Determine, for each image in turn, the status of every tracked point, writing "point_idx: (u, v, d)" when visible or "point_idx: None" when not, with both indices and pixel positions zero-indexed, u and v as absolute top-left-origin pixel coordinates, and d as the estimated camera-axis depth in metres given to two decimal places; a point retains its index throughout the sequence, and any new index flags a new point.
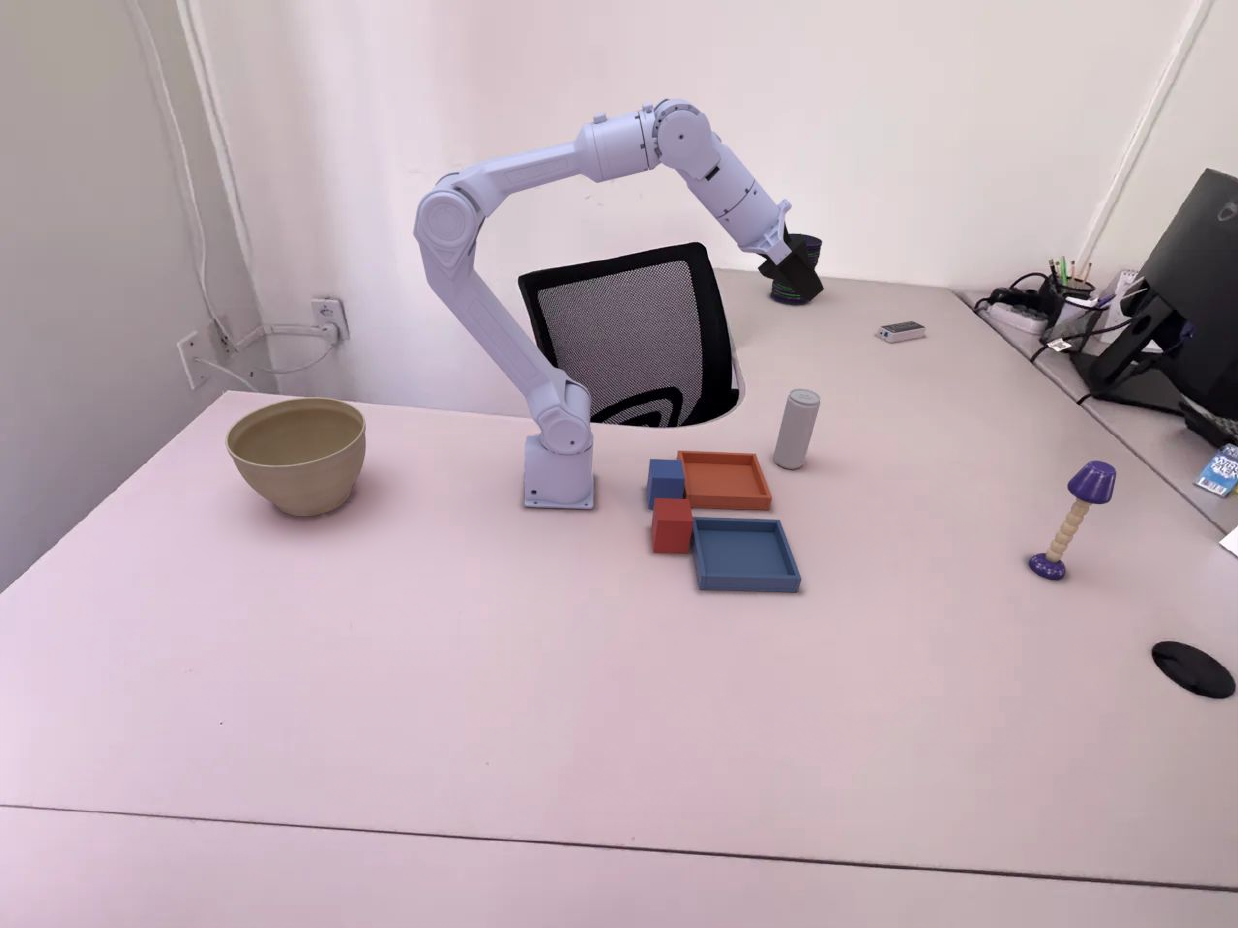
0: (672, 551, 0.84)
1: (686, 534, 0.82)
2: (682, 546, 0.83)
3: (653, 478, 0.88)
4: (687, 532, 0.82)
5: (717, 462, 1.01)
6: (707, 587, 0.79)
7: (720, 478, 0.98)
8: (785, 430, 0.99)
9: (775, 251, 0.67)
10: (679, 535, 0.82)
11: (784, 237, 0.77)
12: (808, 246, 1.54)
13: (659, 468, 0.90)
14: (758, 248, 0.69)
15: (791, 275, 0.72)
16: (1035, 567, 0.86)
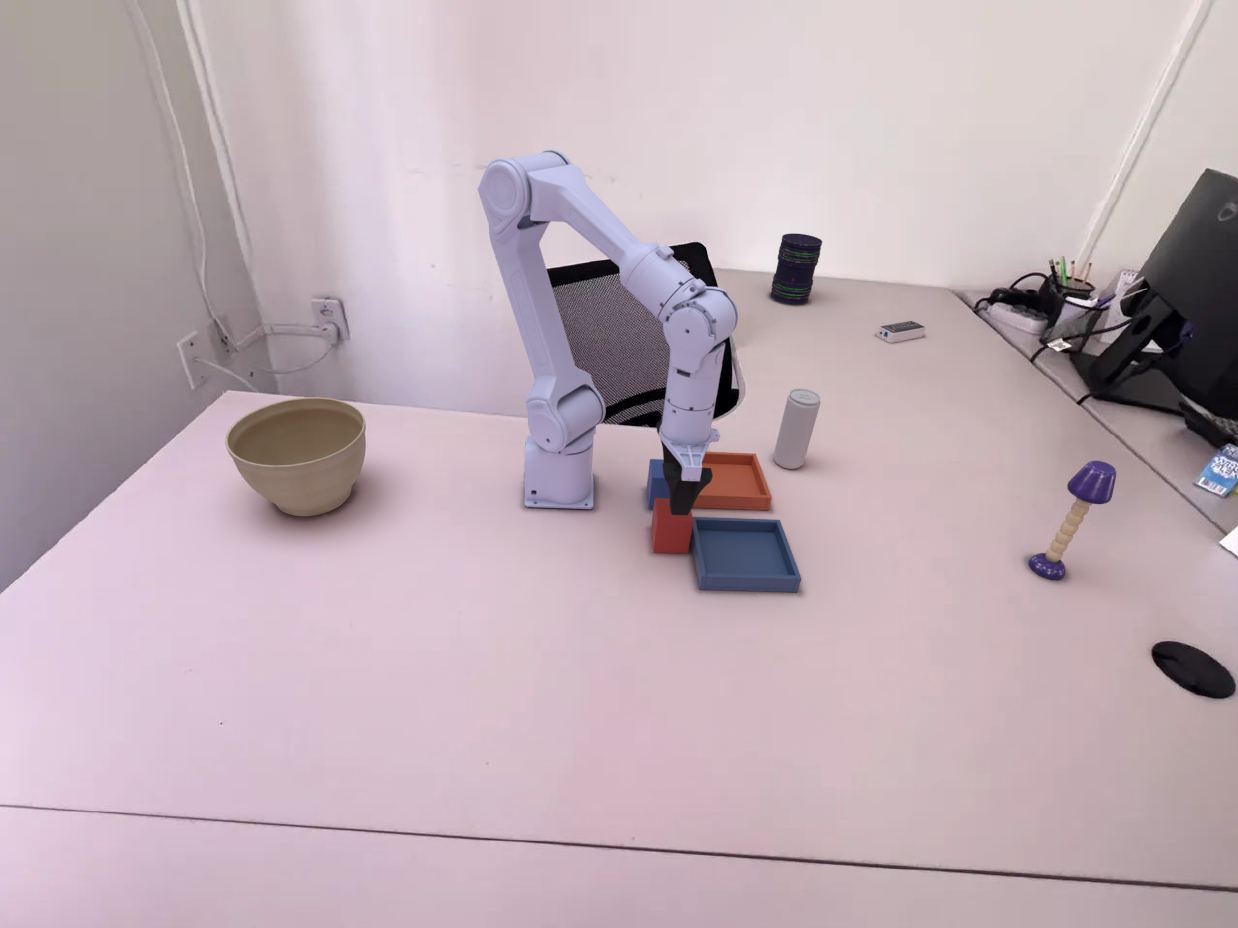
0: (672, 551, 0.84)
1: (686, 534, 0.82)
2: (682, 546, 0.83)
3: (653, 478, 0.88)
4: (687, 532, 0.82)
5: (717, 462, 1.01)
6: (707, 587, 0.79)
7: (720, 478, 0.98)
8: (785, 430, 0.99)
9: (690, 471, 0.71)
10: (679, 535, 0.82)
11: None
12: (808, 246, 1.54)
13: (659, 468, 0.90)
14: (678, 454, 0.72)
15: (678, 488, 0.76)
16: (1035, 567, 0.86)
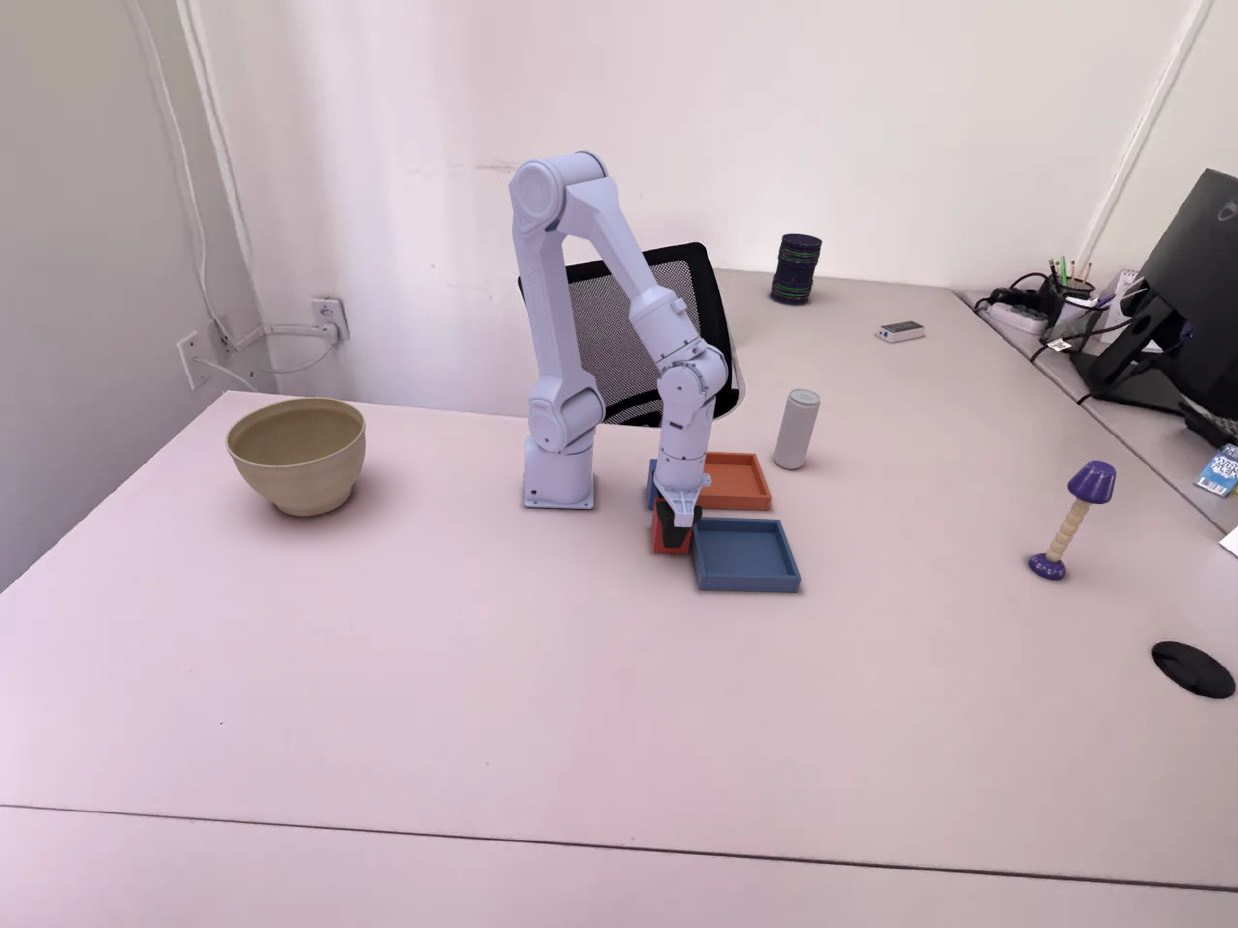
0: (672, 551, 0.84)
1: None
2: (682, 546, 0.84)
3: None
4: None
5: (717, 462, 1.01)
6: (707, 587, 0.79)
7: (720, 478, 0.98)
8: (785, 430, 0.99)
9: (683, 518, 0.74)
10: None
11: None
12: (808, 246, 1.54)
13: None
14: (671, 500, 0.76)
15: (671, 524, 0.80)
16: (1035, 567, 0.86)
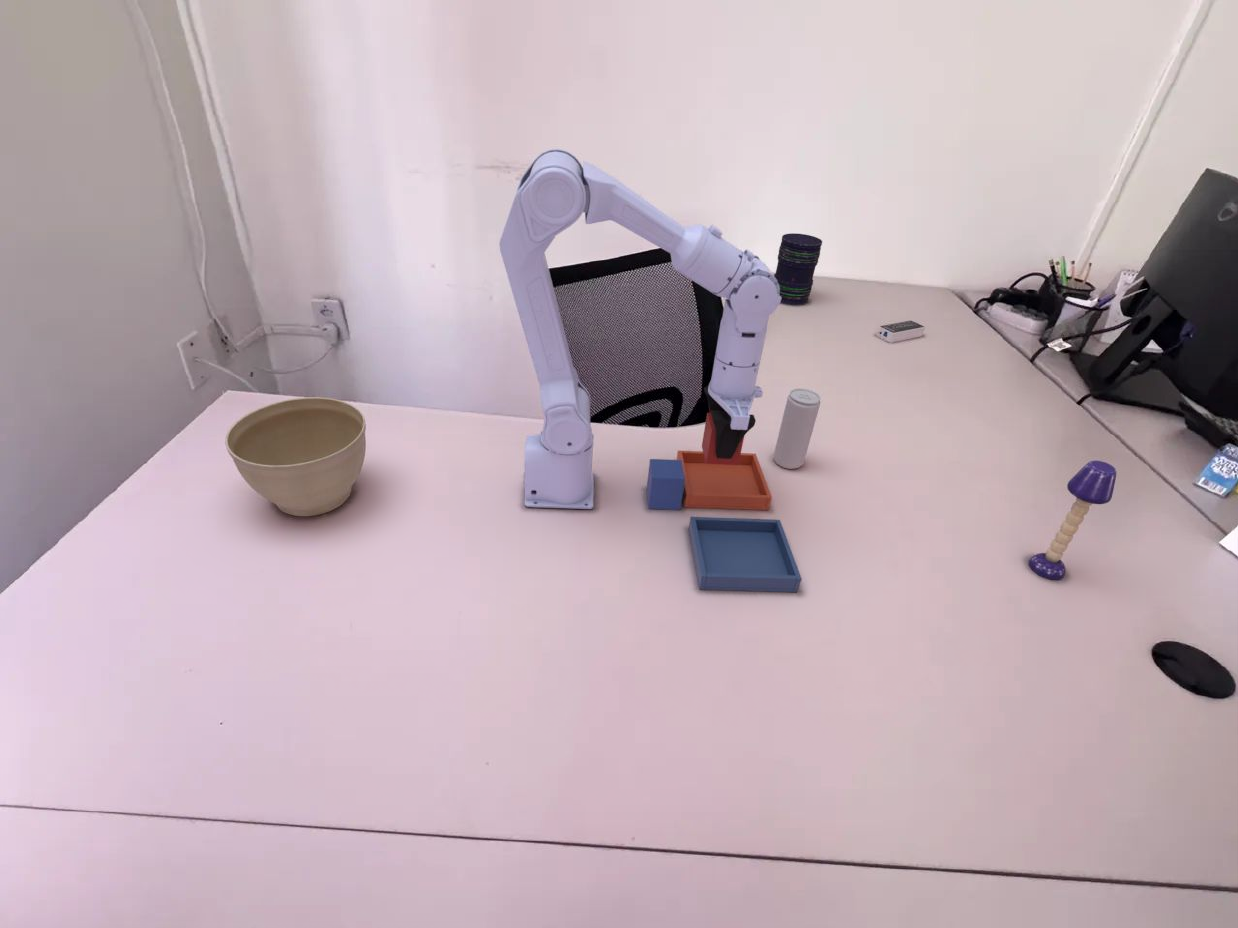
0: (724, 462, 0.89)
1: None
2: (733, 457, 0.89)
3: (653, 478, 0.88)
4: None
5: None
6: (707, 587, 0.79)
7: (720, 478, 0.98)
8: (785, 430, 0.99)
9: (739, 420, 0.79)
10: None
11: None
12: (808, 246, 1.54)
13: (659, 468, 0.90)
14: (727, 406, 0.81)
15: (724, 433, 0.85)
16: (1035, 567, 0.86)
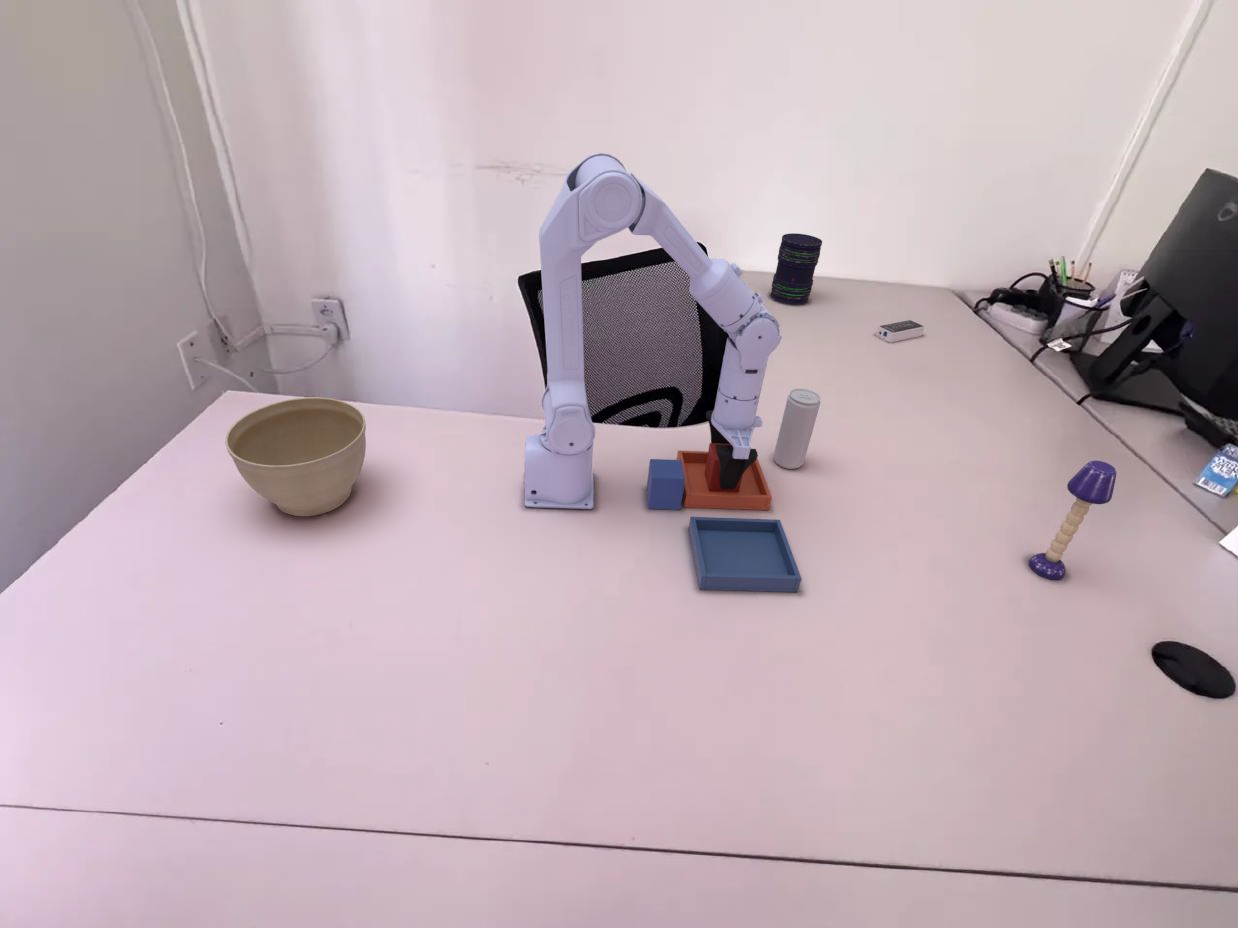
0: (725, 490, 0.95)
1: None
2: None
3: (653, 478, 0.88)
4: None
5: None
6: (707, 587, 0.79)
7: None
8: (785, 430, 0.99)
9: (741, 450, 0.85)
10: None
11: None
12: (808, 246, 1.54)
13: (659, 468, 0.90)
14: (730, 436, 0.87)
15: (728, 466, 0.90)
16: (1035, 567, 0.86)
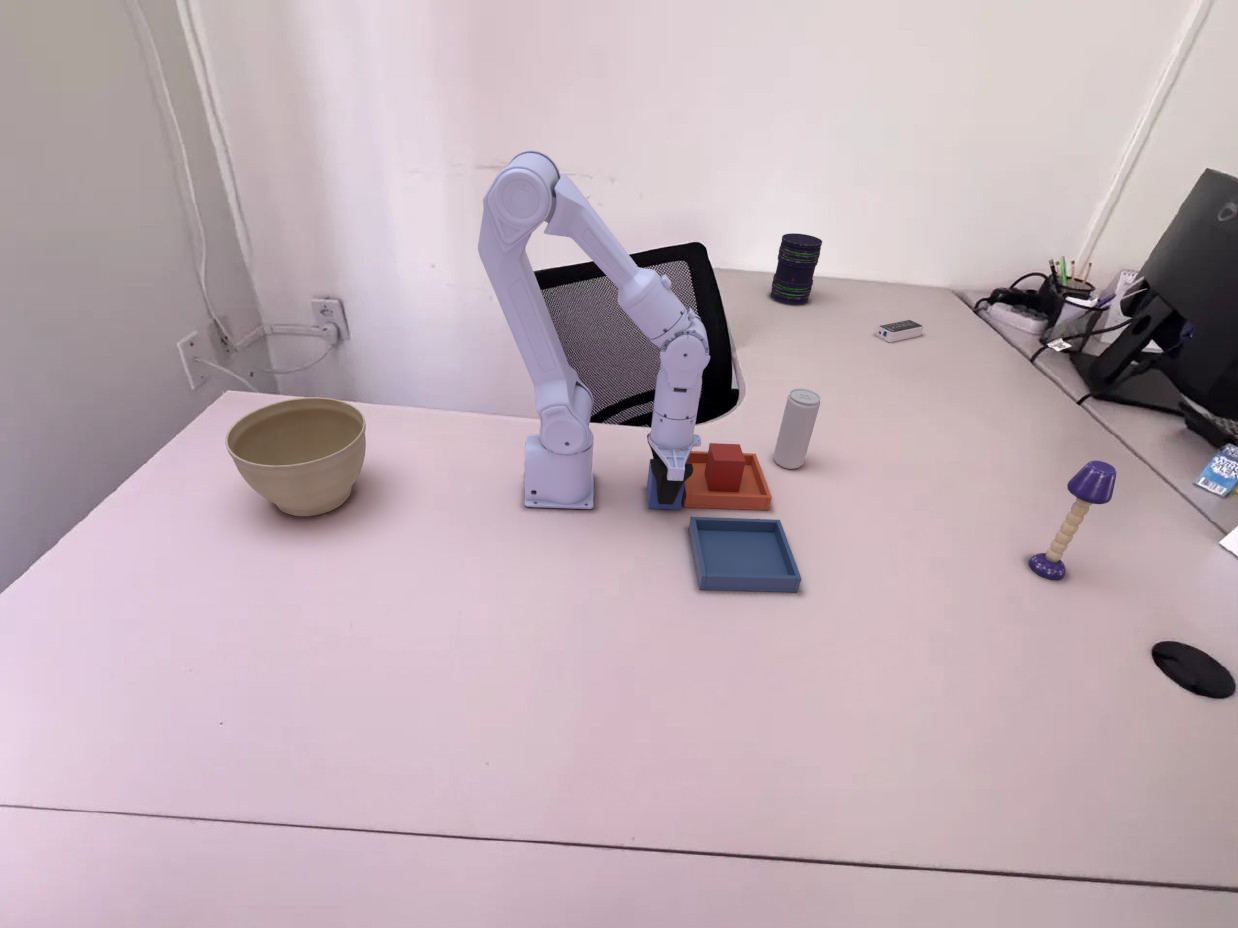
0: (725, 490, 0.95)
1: (739, 473, 0.93)
2: (734, 485, 0.94)
3: (653, 478, 0.88)
4: (739, 472, 0.93)
5: None
6: (707, 587, 0.79)
7: None
8: (785, 430, 0.99)
9: (675, 472, 0.82)
10: (732, 475, 0.93)
11: None
12: (808, 246, 1.54)
13: None
14: (664, 457, 0.83)
15: (664, 481, 0.88)
16: (1035, 567, 0.86)
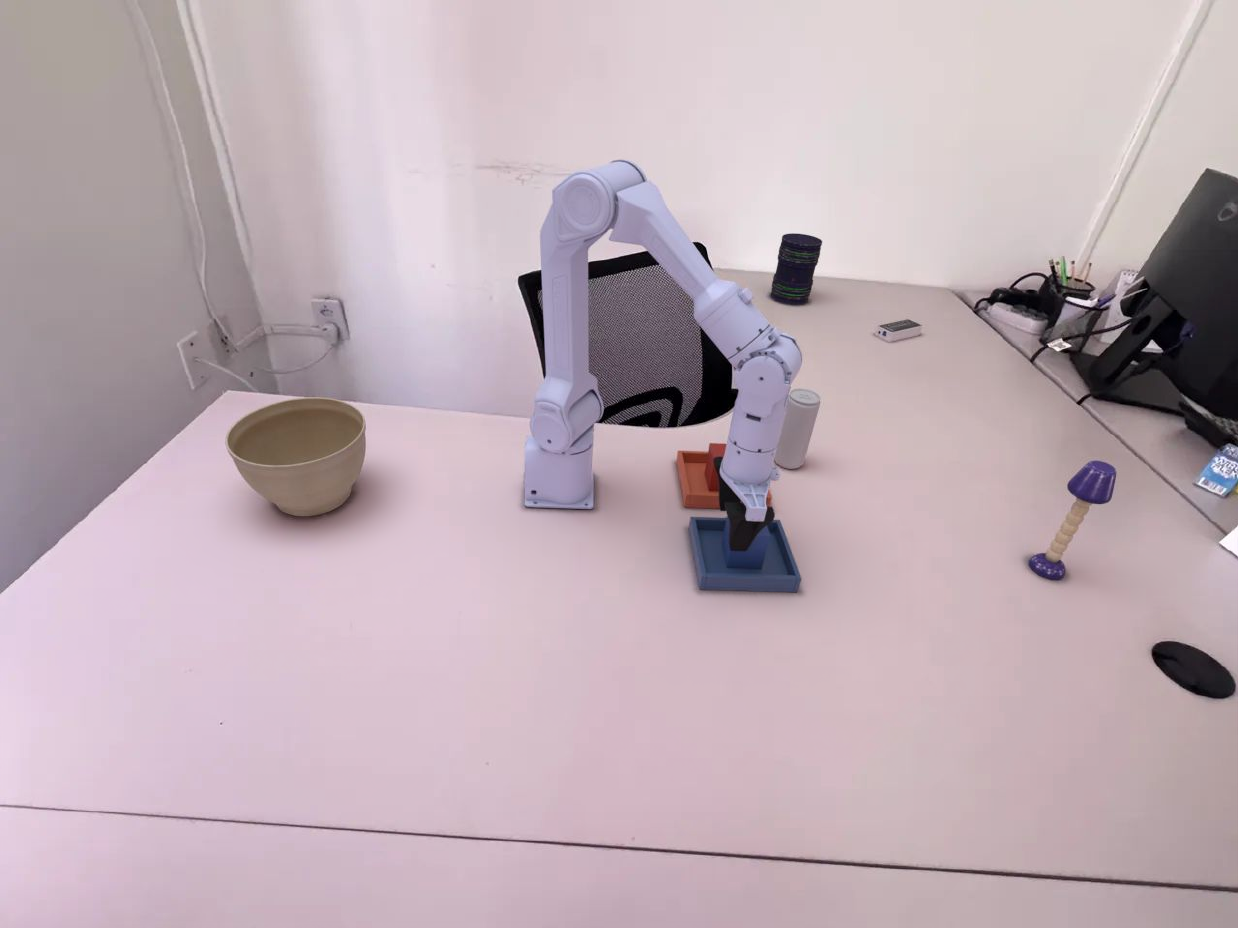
0: None
1: None
2: None
3: None
4: None
5: None
6: (707, 587, 0.79)
7: None
8: (785, 430, 0.99)
9: (755, 512, 0.72)
10: None
11: None
12: (808, 246, 1.54)
13: None
14: (742, 494, 0.74)
15: (739, 526, 0.77)
16: (1035, 567, 0.86)
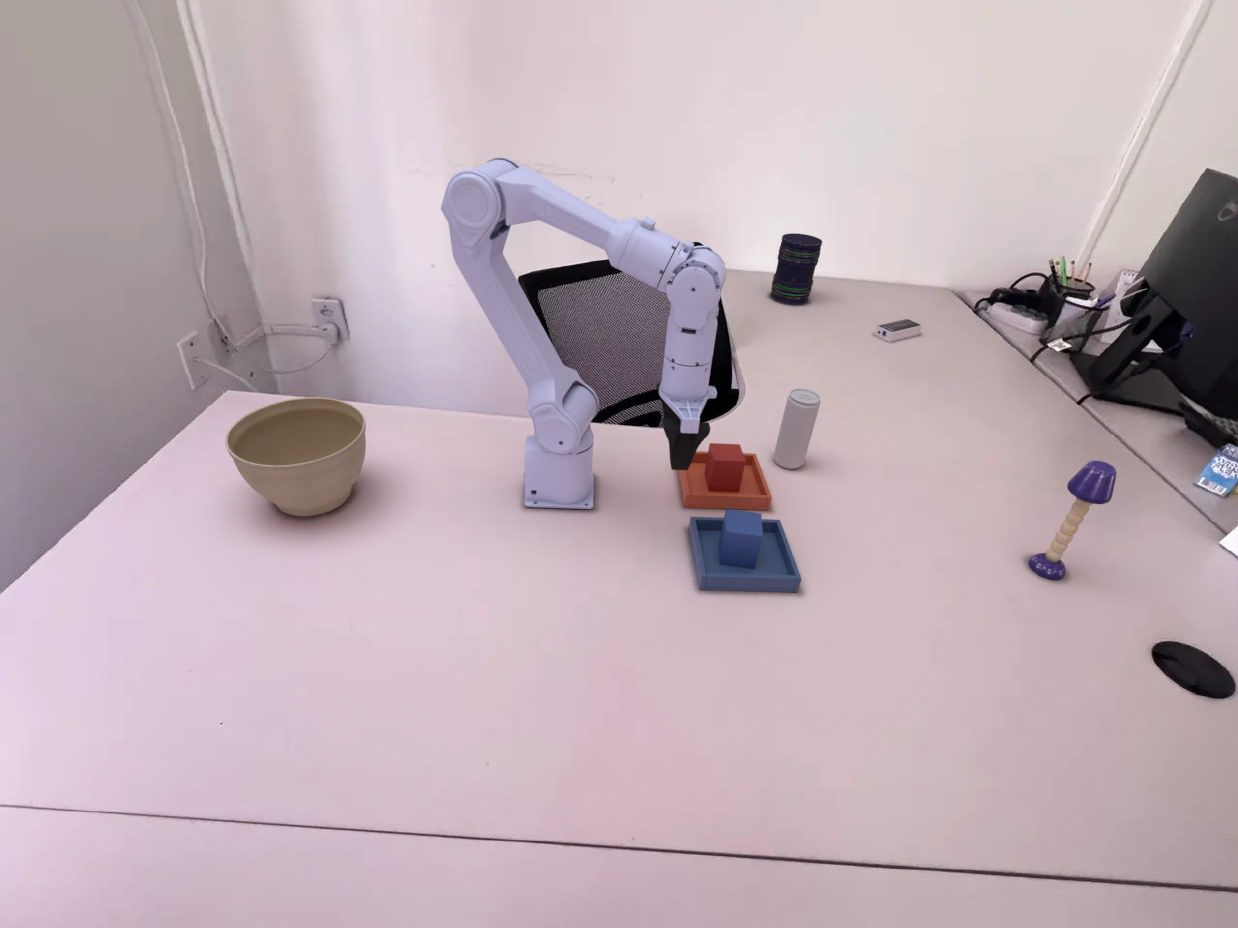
0: (725, 490, 0.95)
1: (739, 473, 0.93)
2: (734, 485, 0.94)
3: (727, 532, 0.79)
4: (739, 472, 0.93)
5: None
6: (707, 587, 0.79)
7: None
8: (785, 430, 0.99)
9: (689, 423, 0.74)
10: (732, 475, 0.93)
11: None
12: (808, 246, 1.54)
13: (735, 520, 0.81)
14: (677, 408, 0.76)
15: (678, 443, 0.79)
16: (1035, 567, 0.86)
